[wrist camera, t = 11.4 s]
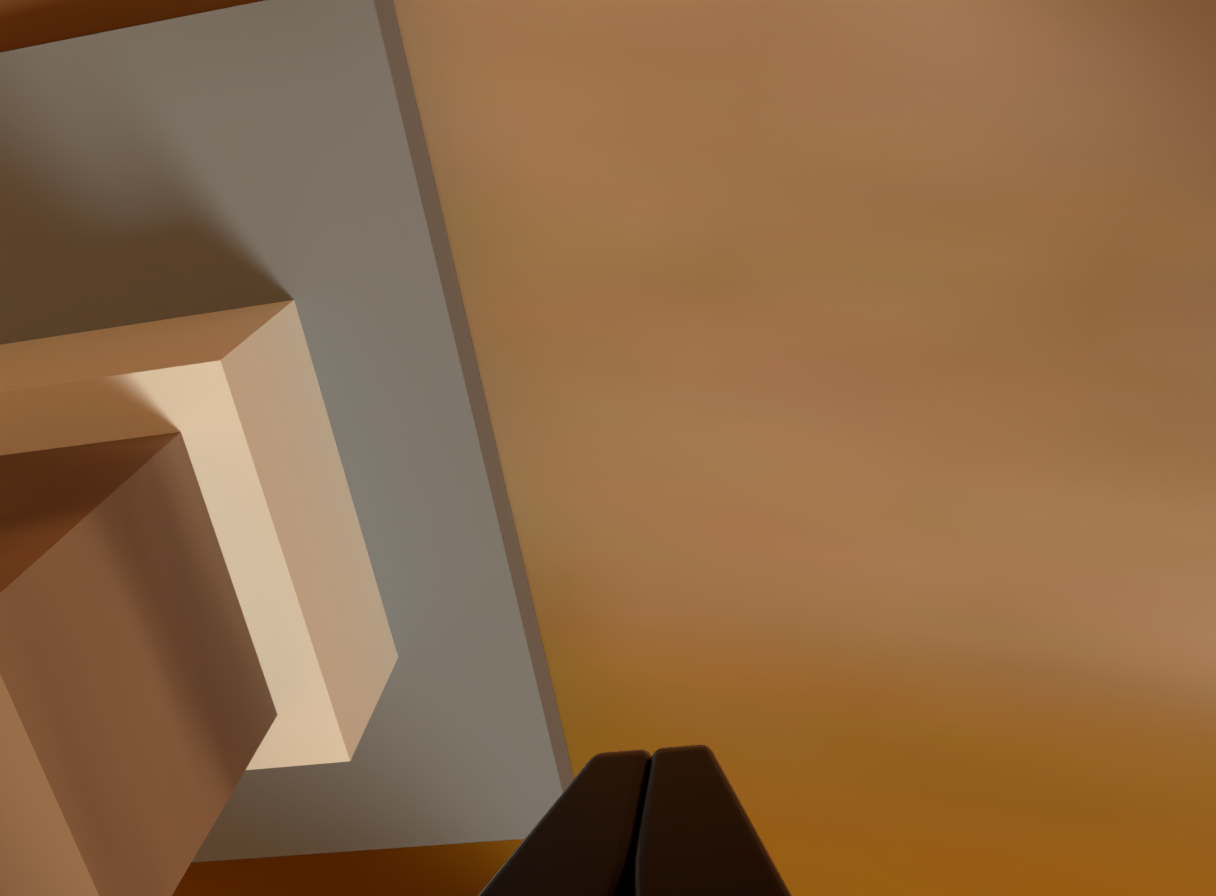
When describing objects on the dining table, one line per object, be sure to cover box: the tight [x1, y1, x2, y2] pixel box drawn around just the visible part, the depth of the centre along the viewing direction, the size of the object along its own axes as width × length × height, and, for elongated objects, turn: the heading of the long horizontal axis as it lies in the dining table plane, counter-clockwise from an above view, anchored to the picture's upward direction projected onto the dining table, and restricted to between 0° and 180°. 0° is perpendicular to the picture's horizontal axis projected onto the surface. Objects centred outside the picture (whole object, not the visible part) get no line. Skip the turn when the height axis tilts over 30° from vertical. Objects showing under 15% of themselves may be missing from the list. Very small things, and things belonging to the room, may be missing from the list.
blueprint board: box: [0, 0, 574, 863], centre depth 20 cm, size 12×16×4 cm
